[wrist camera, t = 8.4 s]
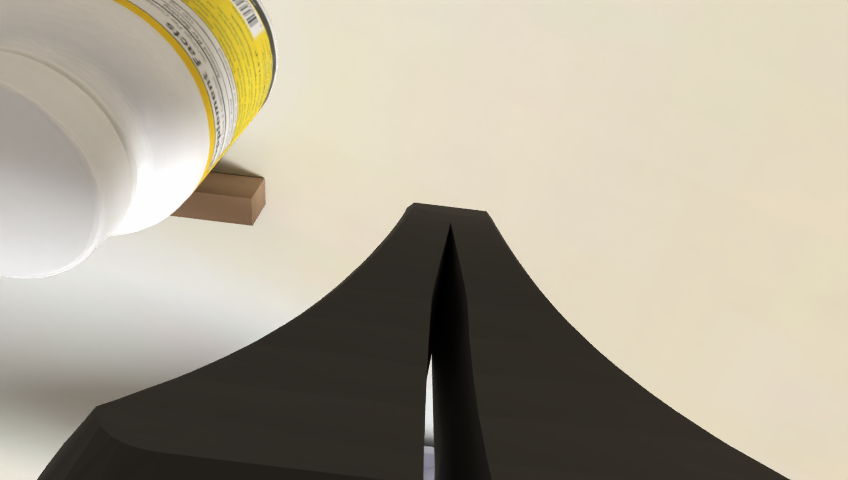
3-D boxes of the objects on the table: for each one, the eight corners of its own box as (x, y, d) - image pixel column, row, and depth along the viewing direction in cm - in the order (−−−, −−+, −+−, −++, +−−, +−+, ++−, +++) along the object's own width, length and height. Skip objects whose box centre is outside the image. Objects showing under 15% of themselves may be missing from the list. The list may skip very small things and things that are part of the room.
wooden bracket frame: (267, 252, 23) (255, 275, 21) (-43, 214, 23) (-74, 235, 21) (250, -221, 15) (230, -229, 14) (-206, -277, 15) (-267, -289, 14)
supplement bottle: (121, 119, 20) (-123, 295, 12) (90, -64, 17) (-258, -7, 9) (286, 136, 20) (159, 324, 12) (281, -44, 17) (112, 33, 9)
